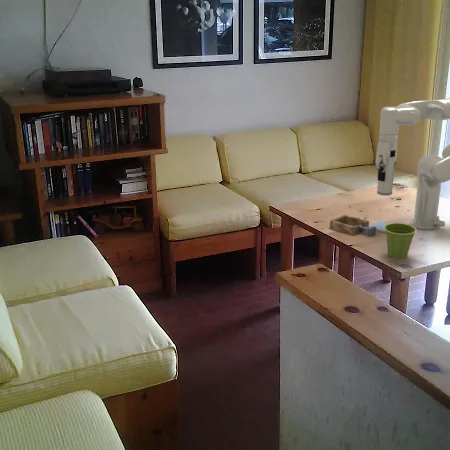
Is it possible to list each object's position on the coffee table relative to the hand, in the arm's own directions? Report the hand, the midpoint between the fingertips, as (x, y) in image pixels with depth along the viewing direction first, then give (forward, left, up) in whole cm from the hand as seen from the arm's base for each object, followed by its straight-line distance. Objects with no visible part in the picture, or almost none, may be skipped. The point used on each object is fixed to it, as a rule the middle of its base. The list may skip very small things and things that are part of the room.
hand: (385, 178), depth 237 cm
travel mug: (0, 0, -7) cm, 7 cm away
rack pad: (0, 0, -22) cm, 22 cm away
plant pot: (-20, +23, -23) cm, 38 cm away
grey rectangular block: (+2, +11, -22) cm, 25 cm away
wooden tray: (+10, +11, -22) cm, 26 cm away
